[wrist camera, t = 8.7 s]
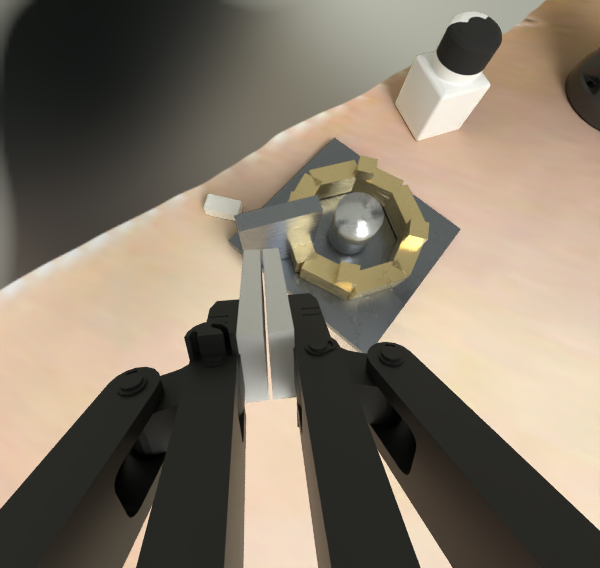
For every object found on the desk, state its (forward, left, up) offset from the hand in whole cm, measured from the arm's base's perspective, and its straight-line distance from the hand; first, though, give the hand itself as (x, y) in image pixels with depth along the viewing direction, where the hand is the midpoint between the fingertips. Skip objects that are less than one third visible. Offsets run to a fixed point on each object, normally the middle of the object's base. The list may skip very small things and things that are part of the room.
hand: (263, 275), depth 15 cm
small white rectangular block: (-7, -14, -19) cm, 25 cm away
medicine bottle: (-37, -3, -19) cm, 42 cm away
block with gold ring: (-12, -2, -18) cm, 22 cm away
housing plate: (-14, 0, -19) cm, 24 cm away
